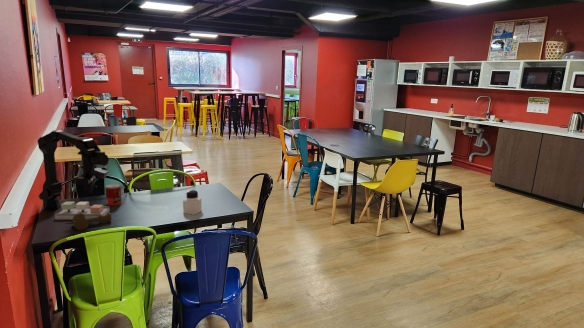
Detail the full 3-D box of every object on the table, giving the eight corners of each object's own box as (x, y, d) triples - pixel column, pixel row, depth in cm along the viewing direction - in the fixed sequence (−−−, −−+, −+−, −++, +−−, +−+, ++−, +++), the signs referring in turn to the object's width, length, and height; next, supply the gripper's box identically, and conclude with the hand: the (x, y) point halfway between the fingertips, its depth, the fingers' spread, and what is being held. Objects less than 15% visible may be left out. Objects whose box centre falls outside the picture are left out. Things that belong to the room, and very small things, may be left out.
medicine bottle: (201, 211, 209) (201, 190, 206) (194, 215, 202) (193, 193, 200) (190, 209, 211) (190, 188, 209) (183, 213, 205) (182, 192, 202)
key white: (76, 209, 194) (75, 204, 193) (80, 206, 199) (79, 201, 198) (85, 209, 194) (84, 204, 194) (89, 206, 199) (88, 201, 198)
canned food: (116, 206, 211) (114, 187, 209) (103, 205, 213) (102, 186, 210) (124, 202, 218) (123, 184, 216) (112, 201, 220) (111, 183, 218)
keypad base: (55, 219, 191) (54, 212, 190) (67, 211, 202) (66, 204, 201) (100, 219, 192) (99, 212, 192) (109, 211, 204) (109, 204, 203)
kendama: (113, 225, 187) (66, 233, 175) (109, 220, 194) (64, 226, 183) (112, 214, 185) (65, 220, 174) (109, 208, 193) (63, 214, 182)
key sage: (61, 209, 193) (61, 204, 193) (66, 206, 198) (65, 201, 197) (71, 209, 194) (70, 204, 193) (75, 206, 198) (74, 201, 198)
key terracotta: (90, 212, 195) (90, 207, 194) (94, 209, 199) (93, 204, 199) (99, 212, 195) (99, 207, 195) (103, 209, 200) (102, 204, 199)
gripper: (97, 168, 183) (99, 199, 187) (111, 159, 201) (113, 188, 205) (73, 167, 182) (75, 198, 186) (90, 159, 200) (92, 187, 204)
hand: (90, 192), depth 195 cm, fingers closed
